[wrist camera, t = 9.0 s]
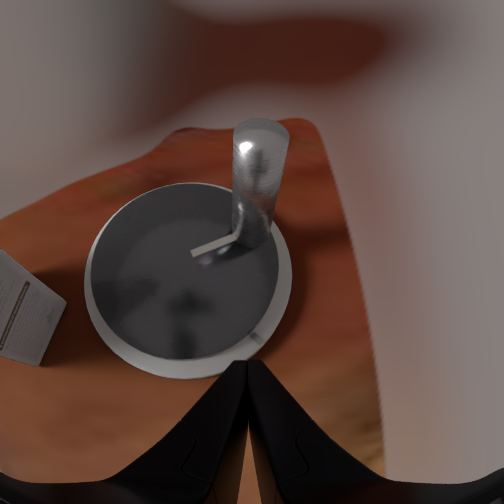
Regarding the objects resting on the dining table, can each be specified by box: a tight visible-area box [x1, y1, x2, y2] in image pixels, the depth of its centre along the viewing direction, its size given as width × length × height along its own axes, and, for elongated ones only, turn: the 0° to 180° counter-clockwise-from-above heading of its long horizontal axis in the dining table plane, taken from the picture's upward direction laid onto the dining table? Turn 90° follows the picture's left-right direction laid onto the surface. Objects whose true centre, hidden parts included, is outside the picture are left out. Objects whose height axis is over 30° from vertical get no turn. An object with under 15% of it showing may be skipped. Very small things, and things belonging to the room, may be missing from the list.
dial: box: [90, 118, 289, 361], centre depth 15 cm, size 12×12×9 cm
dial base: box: [84, 183, 292, 380], centre depth 20 cm, size 14×14×2 cm
